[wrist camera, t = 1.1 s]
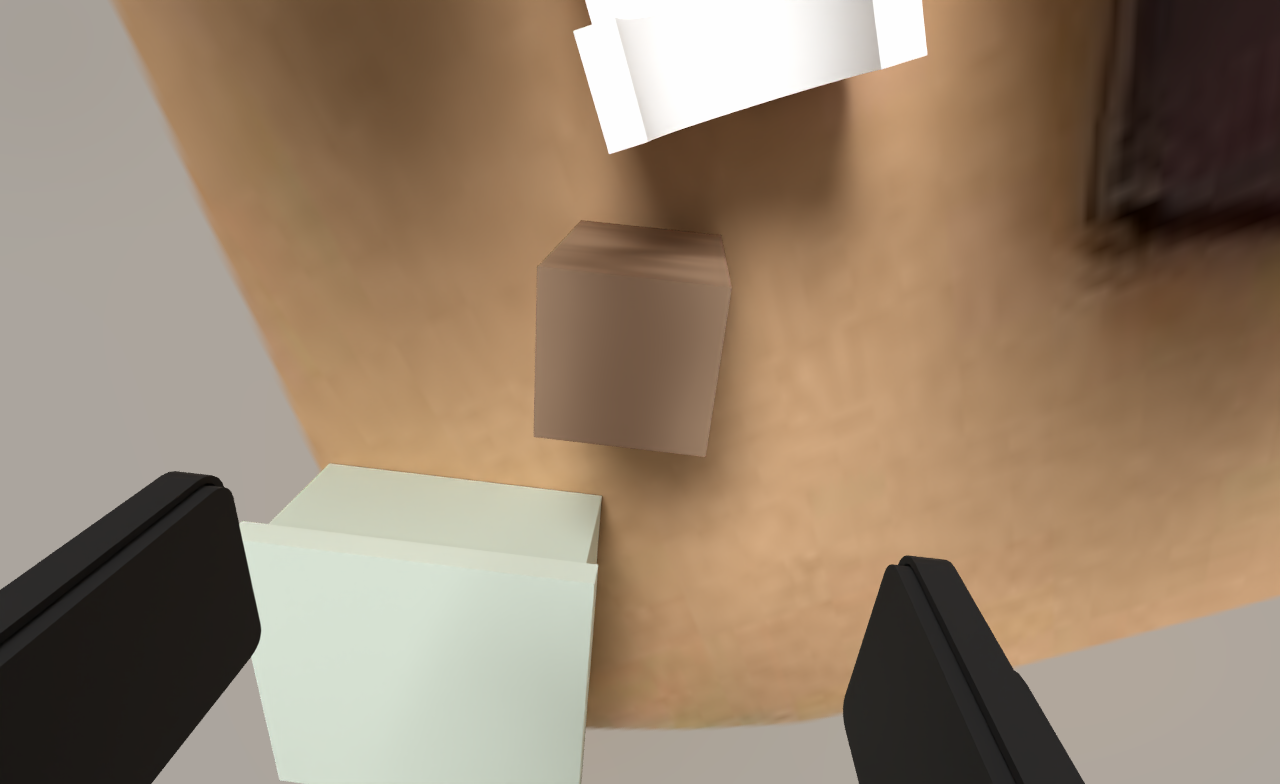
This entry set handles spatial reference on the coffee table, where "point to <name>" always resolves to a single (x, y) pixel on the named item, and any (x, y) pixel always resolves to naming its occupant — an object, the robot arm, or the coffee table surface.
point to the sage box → (425, 629)
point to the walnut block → (630, 337)
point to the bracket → (730, 55)
